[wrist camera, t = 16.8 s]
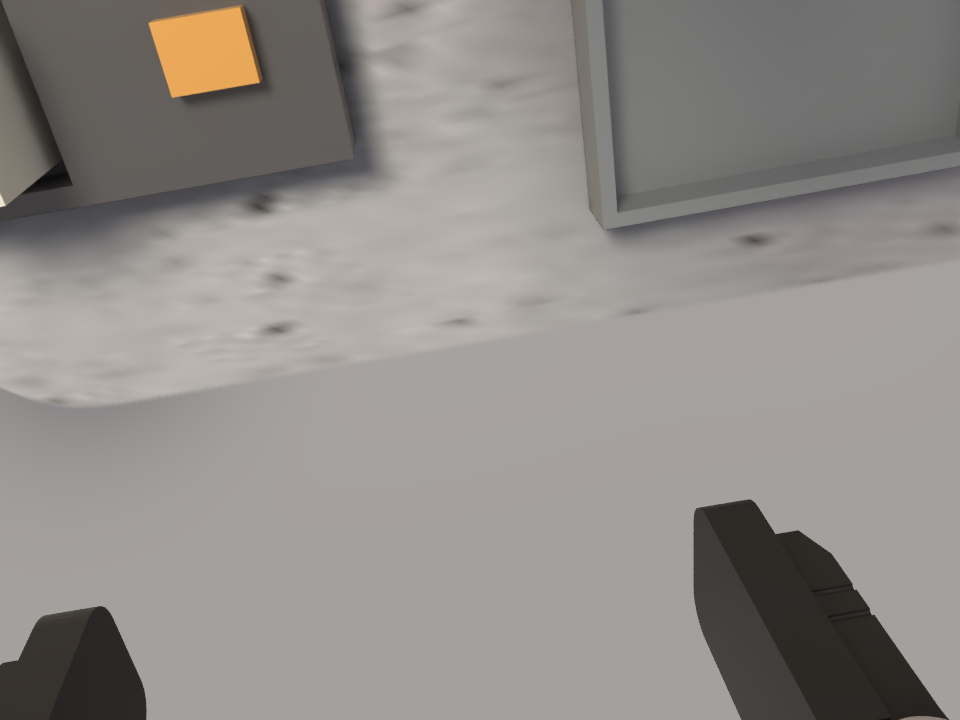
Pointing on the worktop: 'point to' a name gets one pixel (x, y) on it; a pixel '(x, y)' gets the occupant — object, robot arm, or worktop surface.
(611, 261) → the worktop surface
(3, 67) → the block
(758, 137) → the tray
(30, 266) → the worktop surface
